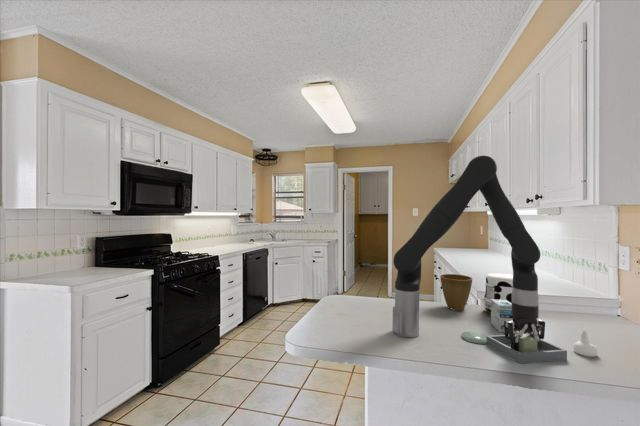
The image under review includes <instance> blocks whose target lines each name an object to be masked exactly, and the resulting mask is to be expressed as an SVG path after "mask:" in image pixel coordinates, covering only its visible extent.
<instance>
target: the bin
mask: <svg viewBox="0 0 640 426" xmlns="http://www.w3.org/2000/svg"><path fill="white" fill-rule="evenodd" d="M486 345H487V346H489V347H490V348H492V349H494V350H495V351H498V352H499V353H501V354H502V355H504V356H506V357H508V358H509V359H511V360H513V361H514V362H516V363H518V364H529V363H530V364H532V363H543V362H544V363H545V362H557V361H558V362H559V361H568V350H567V349H564V348H562V347H560V346H557V345H556V344H553V343H551V342H548V341H546V340H544V339H540V340H539V341H538V349H541V351H538V350H537V352H522V353H520V352H518V351H516V350H514V349H512V348H511V346H508V345H511V341H510V340H509V339H507V338H505V334H498V335H496V334H494V335H487V344H486Z"/></svg>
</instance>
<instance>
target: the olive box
mask: <svg viewBox="0 0 640 426" xmlns="http://www.w3.org/2000/svg"><path fill="white" fill-rule="evenodd" d="M515 337H516V335H515ZM515 337H514V338H515ZM518 343H519V350H518V352H520V353H522V352H537V351H538V350H537V339H535V338H533V337H531V336H529V335H526V334H523V336H522V337H520V339H519V341H518Z"/></svg>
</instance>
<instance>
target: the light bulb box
mask: <svg viewBox="0 0 640 426" xmlns="http://www.w3.org/2000/svg"><path fill="white" fill-rule="evenodd" d="M505 320H506V321H512V320H513V315H512V303H510V302H509V301H507V300H497V299H491V313H490V324H491V325H492V326H493V327H494V328H495V329H496V330H497V331H498V332H499V333H505V331H504V321H505ZM516 332H517V333H518V331H517V330H516Z"/></svg>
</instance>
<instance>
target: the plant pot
mask: <svg viewBox="0 0 640 426" xmlns="http://www.w3.org/2000/svg"><path fill="white" fill-rule="evenodd" d="M439 277H440V283H441V284H440V285H441V289H442V294H443V297H444V300H445V304H446V306H447V308H448V307H449V308H452V309H455V310H454V311H458V310H461V311H464V310H465V308H466V305H467V302H468V301H469V297H470V293H471V291H472V290H471V289H472V284H473V277H472V276H469V275H464V274H455V273H445V274H444V273H443V274H440V276H439ZM449 308H448V309H449ZM452 309H451V310H452Z"/></svg>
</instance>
